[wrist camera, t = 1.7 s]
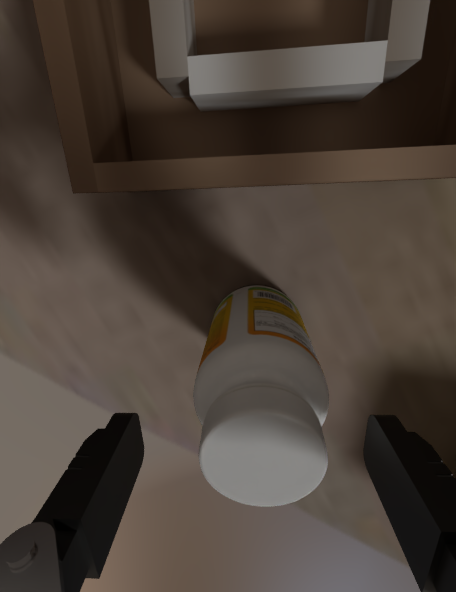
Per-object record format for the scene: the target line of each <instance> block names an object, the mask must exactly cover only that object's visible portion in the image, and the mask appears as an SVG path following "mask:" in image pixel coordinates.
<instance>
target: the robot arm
mask: <svg viewBox="0 0 456 592" xmlns="http://www.w3.org/2000/svg"><path fill="white" fill-rule="evenodd" d="M143 457H144V444H143V437H142V432H141V426H140V421H139V416H138V414H137V413H115V414H114V415H113V416H112V417H111V419H110V421H109V423H108V424H107V426H106V428H105V429H97V430H96V431H95V432H94V433H93V434H92V435H90V436H89V437H88V438H87V439H86V440H85V441H84V442H83V444H82V446H81V447H80V449H79V450H78V452H77V453H76V457H75V458H73V460H72V461H71V463H70V464H69V466H68V469H67V470H66V471H65V472H64V474H63V475H62V477H61V478H60V480H59V482H58V483H57V485H56V486H55V488H54V489H53V491H52V493H51V494H50V496H49V497H48V499H47V500H46V502H45V504H44V505H43V507H42V508H41V510H40V511H39V513H38V514H37V516H36V518H35V519H34V520H33V522H32V523H31V524H28V525H26V526H23V527H21V528H20V529H18V530H16V531H15V532H14V533H12V534H11V535H10V536H9V537H7V538H6V539H5V540H4V541H3V542H2V543H1V544H0V592H80V589H81V587H82V585H83V582H84V580H85V578H97V579H99V578H100V575H101V572H102V570H103V567H104V565H105V562H106V559H107V556H108V554H109V551H110V548H111V546H112V543H113V540H114V538H115V535H116V532H117V530H118V527H119V524H120V522H121V519H122V516H123V514H124V511H125V508H126V506H127V503H128V500H129V497H130V495H131V492H132V490H133V487H134V484H135V482H136V479H137V476H138V473H139V471H140V468H141V465H142V462H143ZM364 461H365V465H366V468H367V471H368V473H369V475H370V477H371V480H372V482H373V484H374V487H375V489H376V491H377V493H378V496H379V498H380V500H381V502H382V505H383V507H384V509H385V511H386V514H387V516H388V518H389V521H390V523H391V525H392V527H393V530H394V532H395V534H396V536H397V539H398V541H399V543H400V546H401V548H402V550H403V552H404V555H405V557H406V559H407V561H408V564H409V566H410V568H411V570H412V573H413V575H414V577H415V580H416V582H417V584H418V586H419V588H420V591H421V592H456V478H453V474H452V473H451V472H450V470H449V469H448V468H447V466H446V465H445V464H443V461H442V459H441V458H440V457H439V455H438V454H437V453H436V451H435V450H434V448H433V447H432V446H431V445H430V444H429V443H428V442H426V441H425V440H424V439H423V438H422V437H420V436H419V435H418V434H417V433H415V432H407V431H406V430H405V428H404V427H403V425H402V424H401V422H400V421H399V419H398V418H397V417H396V416H395V415H370V416H369V418H368V423H367V430H366V436H365V443H364Z"/></svg>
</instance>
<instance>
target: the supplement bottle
mask: <svg viewBox="0 0 456 592" xmlns="http://www.w3.org/2000/svg"><path fill="white" fill-rule="evenodd" d="M193 397H194V406H195V410H196V414H197V416H198V418H199V420H200V422H201V424H202V426H203V427H202V435H201V441H200V447H199V463H200V467H201V470H202V473H203V474H204V476H205V478H206V479H207V481H208V482H209V483H210V485H211V486H212V487H213V488H214V489H216V490H217V491H218V492H219V493H221V494H222V495H224V496H226V497H228V498H230V499H232V500H234V501H237V502H239V503H243V504H248V505H253V506H262V507H268V506H280V505H284V504H288V503H291V502H294V501H297V500H299V499H301V498H303V497H305V496H306V495H308V494H309V493H311V492H312V491H313V490H314V489H315V488H316V487H317V486H318V485H319V484H320V482H321V481H322V479H323V477H324V475H325V473H326V470H327V465H328V454H327V448H326V444H325V440H324V436H323V432H322V425H323V423H324V421H325V418H326V415H327V411H328V406H329V393H328V387H327V383H326V380H325V376H324V374H323V371H322V369H321V366H320V364H319V361H318V359H317V356H316V354H315V351H314V349H313V346H312V344H311V341H310V339H309V336H308V334H307V331H306V329H305V326H304V323H303V321H302V318H301V316H300V313H299V311H298V309H297V307H296V306H295V304H294V303H293V302H292V301H291V300H290V299H289V298H288V297H287V296H286V295H285V294H283V293H282V292H280V291H278V290H276V289H274V288H271V287H267V286H259V285H254V286H247V287H243V288H240V289H238V290H236V291H234V292H232V293H230V294H229V295H228V296H227V297H226V298H224V299H223V301H222V302H221V303H220V304H219V306H218V307H217V309H216V311H215V314H214V317H213V320H212V323H211V327H210V331H209V334H208V338H207V341H206V345H205V348H204V351H203V355H202V358H201V362H200V365H199V369H198V372H197V376H196V380H195V385H194V392H193Z"/></svg>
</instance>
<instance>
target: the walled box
mask: <svg viewBox="0 0 456 592" xmlns="http://www.w3.org/2000/svg"><path fill="white" fill-rule="evenodd" d="M33 4H34V9H35V14H36V19H37V23H38V28H39V33H40V38H41V42H42V47H43V52H44V57H45V62H46V66H47V71H48V76H49V81H50V85H51V90H52V95H53V100H54V105H55V109H56V114H57V119H58V124H59V128H60V133H61V138H62V143H63V148H64V152H65V157H66V162H67V167H68V172H69V176H70V181H71V186H72V191H73V193H104V192H136V191H160V190H183V189H207V188H230V187H254V186H277V185H301V184H324V183H348V182H371V181H395V180H419V179H441V178H456V0H33Z"/></svg>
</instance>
